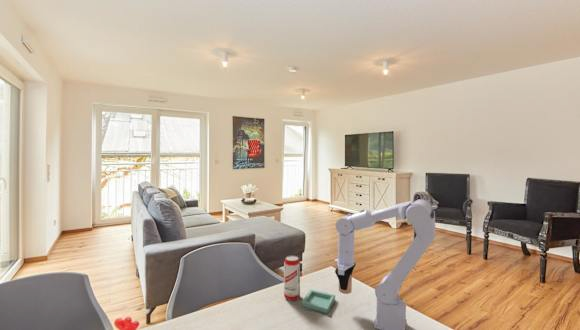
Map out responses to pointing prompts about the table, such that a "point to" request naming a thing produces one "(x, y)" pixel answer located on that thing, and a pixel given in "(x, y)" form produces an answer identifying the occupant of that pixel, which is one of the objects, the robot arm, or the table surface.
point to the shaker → (349, 288)
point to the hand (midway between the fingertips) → (345, 285)
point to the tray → (318, 301)
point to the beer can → (292, 278)
